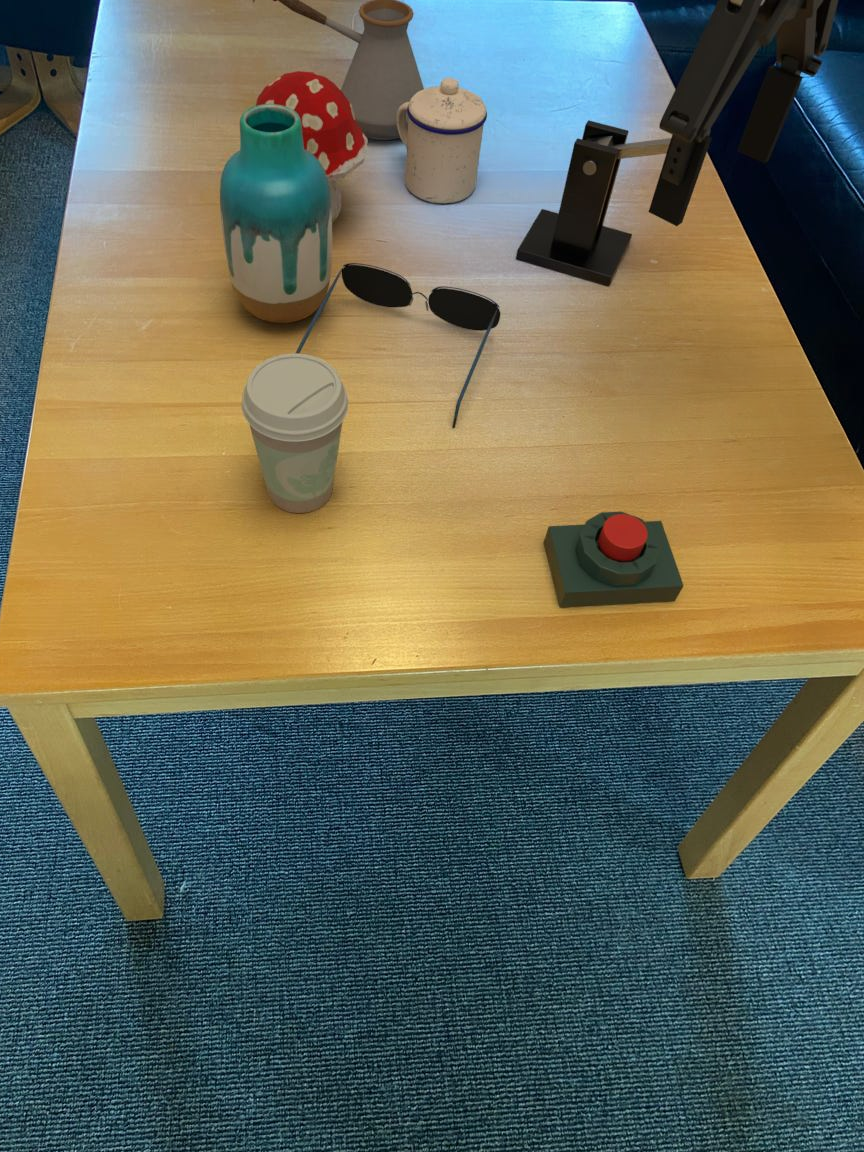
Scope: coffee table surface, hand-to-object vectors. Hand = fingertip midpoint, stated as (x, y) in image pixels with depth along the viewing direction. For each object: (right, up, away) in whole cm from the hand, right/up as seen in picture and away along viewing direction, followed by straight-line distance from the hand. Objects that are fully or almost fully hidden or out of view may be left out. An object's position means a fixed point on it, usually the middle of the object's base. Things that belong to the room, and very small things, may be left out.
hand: (710, 185), depth 71 cm
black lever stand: (-5, +7, +28) cm, 29 cm away
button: (-8, -30, 0) cm, 31 cm away
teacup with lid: (-21, +19, +34) cm, 45 cm away
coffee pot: (-32, +29, +41) cm, 60 cm away
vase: (-38, -3, +20) cm, 43 cm away
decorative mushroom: (-36, +12, +29) cm, 48 cm away
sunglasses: (-26, -9, +17) cm, 32 cm away
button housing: (-8, -32, +3) cm, 33 cm away
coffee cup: (-35, -24, +7) cm, 43 cm away
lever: (0, +12, +17) cm, 21 cm away
